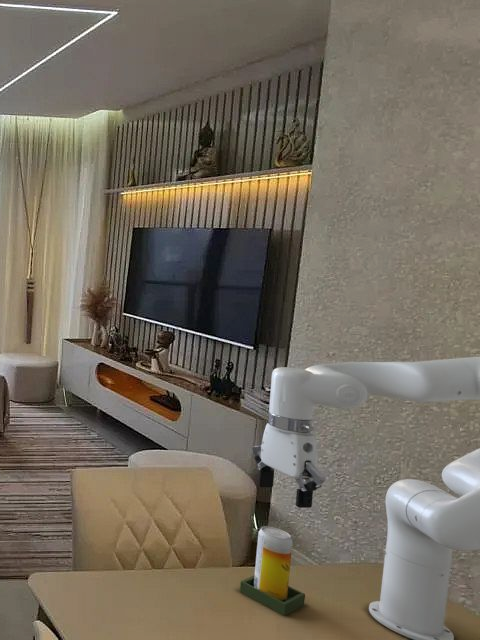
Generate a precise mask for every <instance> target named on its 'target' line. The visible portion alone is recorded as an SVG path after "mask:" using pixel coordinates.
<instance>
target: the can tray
mask: <svg viewBox="0 0 480 640" xmlns="http://www.w3.org/2000/svg"><path fill="white" fill-rule="evenodd" d="M239 592H240V593H241V594H243V595H245V596H247V597H249V598H250V599H253V600H254V601H256V602H258V603H260V604H262V605H263V606H266V607H268V608H269V609H271V610H273V611H275V612H277V613H279V614H281V615H282V616H286V615H288V614H290V613H292V612H293V611H295V610H297V609H299V608H301V607H303V606H304V605H305V602H306V601H305V600H306V593H305V592H302V591H300V590H298V589H296V588H293V587H292V586H290V585H288V594H287V599H285V600H283V601H280V600H278V599H276V598H275V597H273V596H271V595H269V594H267V593H265V592H263V591H261V590H259V589H257V588H255V587H254V575H252V576H249V577H247V578H245V579H243V580H241V581H240V586H239Z"/></svg>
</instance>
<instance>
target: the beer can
mask: <svg viewBox="0 0 480 640" xmlns="http://www.w3.org/2000/svg"><path fill="white" fill-rule="evenodd" d="M293 543H294V542H293V539H292V536H291V535H290V534H289V532H287V531H285V530H283V529H280V528H277V527H273V526H268V525H264V526H261V527H260V529H259V530H258V535H257V545H256V556H255V566H254V574H253V576H254V587H255V588H257V589H259V590H261V591H263V592H265V593H267V594H269V595H271V596H273V597H275V598H276V599H278V600H280V601H283V600H285V599H287V594H288V586H289V582H290V573H291V563H292V551H293Z"/></svg>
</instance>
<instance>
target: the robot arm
mask: <svg viewBox="0 0 480 640" xmlns="http://www.w3.org/2000/svg"><path fill="white" fill-rule="evenodd" d="M368 396H380V397H386V398H390V399H395V400H399V401H406V402H413V403H414V402H416V403H435V402H436V403H438V402H453V401H469V400H480V356H471V357H469V356H468V357H456V358H444V359H443V358H442V359H432V360H431V359H430V360H420V361H419V360H418V361H346V362H333V363H321V364H315V365H311V366H308V367H307V368H305V369H302V368H297V367H289V366H288V367H287V366H279V367H275V368H274V369H272V373H271V380H270V394H269V408H268V420H267V423H266V425H265V427H264V431H263V435H262V440H261V445H255V446H252V448H251V449H252V452H253V456H254V460H255V462H256V464H257V465H256V468H257V470H258V482H257V483H258V484H257V486H258V487H259V488H273V487H274V479H275V471H277V472H280V473H282V474H284V475H285V476H289V477H291V478H293V479H295V482H296V483H297V486H298V488H297V489H296V495H295V507H297V508H300V509H306V508H307V509H308V508H309V509H310V508H312V507H313V497H314V492H316V491H317V490H318V489H320V488H321V487H322V485H323V484H324V483H325V482H326V480H327V477H326V476H325V475H324V474H323V473H322V471H320V470H319V469H318V448H317V441H316V437H315V434H313V433H312V432H314V431H315V427H314V426H313V419H314V418H313V417H314V405H315V404H316V405H321V406H326V407H331V408H335V409H343V410H351V409H355V408H358V407H360V406H361V405H362V406H363V404H364V403H365V402H366V401H367V399H368ZM441 478H442V481H443V483H444V485H445V486H446V487H447V488H448V489H449V490H451V491H452V492H453V493H455V494H457V495H458V496H459V497H458V498H457V497H456V496H454V495H453V494H451V493H449V492H447V491H446V490H443V489H442V488H440V487H437V486H436V485H434V484H432V483H429V482H426V481H424V480H421V479H414V478H406V479H399V480H396V482H394V483H392V484H391V485H390V486H389V487H388V489H387V491H386V494H385V499H384V500H385V512H386V518H387V519H386V520H387V534H386V542H385V543H386V544H385V553H384V560H383V570H382V577H381V587H380V588H381V589H380V597H379V600H376V601H372V602H370V603H369V605H368V612H369V614H370V615H371V616H372V617H373V618H374V619H375V620H376V621H377V622H378V623H380V624H381V625H383V626H384V627H386V628H387V629H389V630H391V631H393V632H395V633H397V634H398V635H400V636H404V637H405V638H408V639H411V640H455V635H454V633H453V632H452V630H450V629H449V628H448V627H447V626H446V625H445V619H446V610H447V602H448V594H449V587H450V578H451V569H452V564H453V563H452V562H453V551H452V550H454V551H457V552H473V551H478V550H480V447H479V448H477V449H474V450H472V451H471V452H469V453H466V454H464V455H463V456H461V457H459V458H457V459H455V460H453V461H451V462H449V463H448V464H447V465H446V466H445V467H444V468H443V469H442V472H441Z"/></svg>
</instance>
